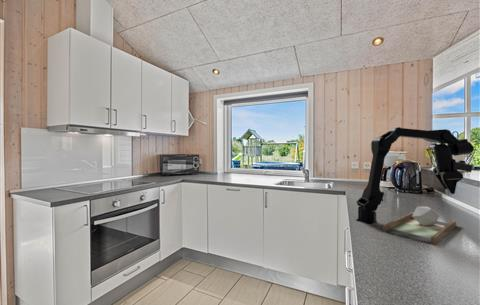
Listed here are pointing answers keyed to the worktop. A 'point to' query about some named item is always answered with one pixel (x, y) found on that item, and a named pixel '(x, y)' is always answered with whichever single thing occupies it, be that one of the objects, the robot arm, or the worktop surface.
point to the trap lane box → (418, 229)
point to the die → (425, 216)
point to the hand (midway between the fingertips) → (449, 191)
